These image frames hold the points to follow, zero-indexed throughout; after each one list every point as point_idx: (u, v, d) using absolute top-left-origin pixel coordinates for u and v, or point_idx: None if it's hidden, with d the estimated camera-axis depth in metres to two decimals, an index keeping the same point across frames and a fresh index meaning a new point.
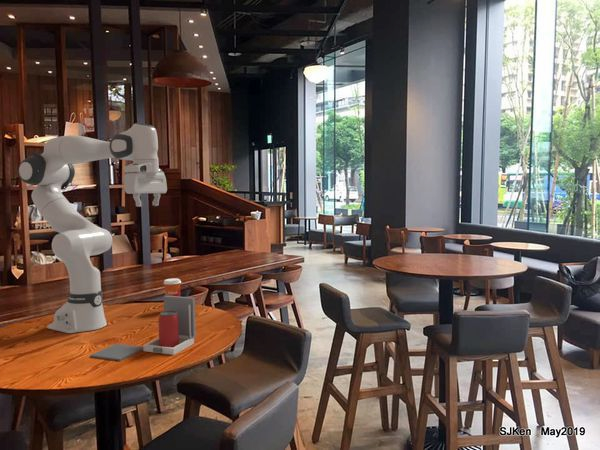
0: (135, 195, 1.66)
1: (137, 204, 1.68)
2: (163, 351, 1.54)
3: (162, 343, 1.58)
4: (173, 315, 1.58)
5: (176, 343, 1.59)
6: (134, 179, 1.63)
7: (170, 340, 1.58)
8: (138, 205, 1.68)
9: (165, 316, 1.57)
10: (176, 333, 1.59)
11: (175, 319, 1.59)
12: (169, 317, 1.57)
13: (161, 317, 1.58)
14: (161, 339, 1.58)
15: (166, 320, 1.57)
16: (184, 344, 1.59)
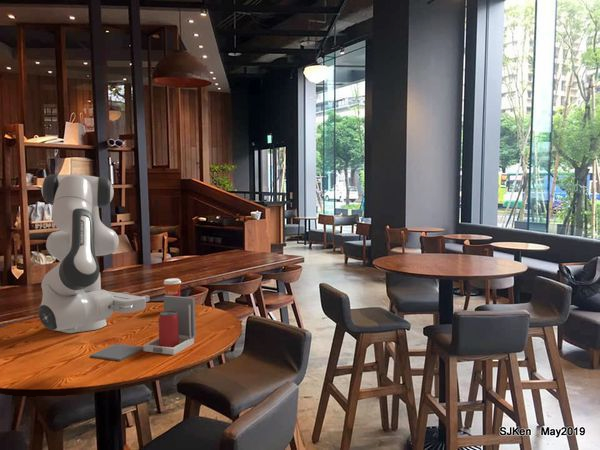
0: None
1: None
2: (163, 351, 1.54)
3: (162, 343, 1.58)
4: (173, 315, 1.58)
5: (176, 343, 1.59)
6: None
7: (170, 340, 1.58)
8: None
9: (165, 316, 1.57)
10: (176, 333, 1.59)
11: (175, 319, 1.59)
12: (169, 317, 1.57)
13: (161, 317, 1.58)
14: (161, 339, 1.58)
15: (166, 320, 1.57)
16: (184, 344, 1.59)
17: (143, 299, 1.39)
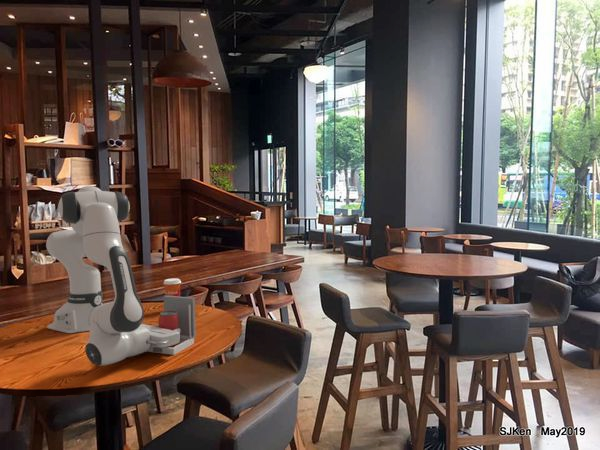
0: None
1: None
2: (163, 351, 1.54)
3: None
4: (173, 315, 1.58)
5: None
6: None
7: None
8: None
9: (165, 316, 1.57)
10: None
11: (175, 319, 1.59)
12: (169, 317, 1.57)
13: (161, 317, 1.58)
14: None
15: (166, 320, 1.57)
16: (184, 344, 1.59)
17: (177, 334, 1.51)
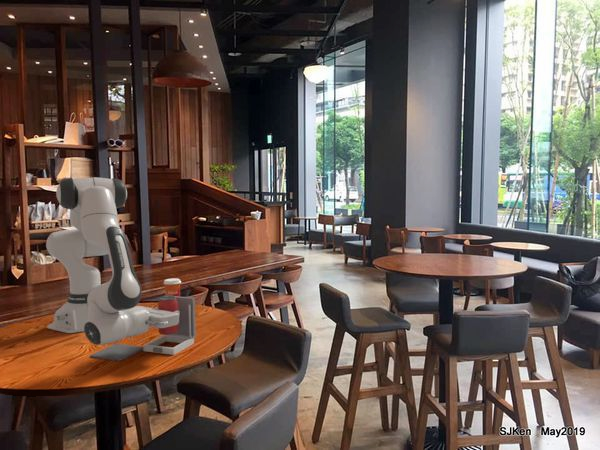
0: None
1: None
2: (163, 351, 1.54)
3: (161, 328, 1.57)
4: (173, 300, 1.58)
5: (176, 328, 1.59)
6: None
7: None
8: None
9: (165, 301, 1.57)
10: None
11: (175, 304, 1.58)
12: (169, 302, 1.57)
13: (160, 302, 1.57)
14: None
15: (166, 305, 1.57)
16: (184, 344, 1.59)
17: (177, 315, 1.50)
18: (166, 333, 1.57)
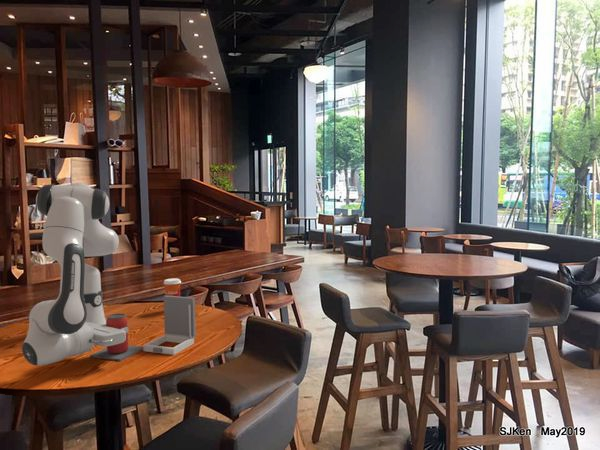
0: None
1: None
2: (163, 351, 1.54)
3: (110, 347, 1.52)
4: (121, 318, 1.53)
5: (125, 346, 1.54)
6: None
7: (118, 344, 1.52)
8: None
9: (113, 319, 1.52)
10: None
11: (123, 322, 1.54)
12: (117, 320, 1.52)
13: (109, 320, 1.52)
14: None
15: (114, 323, 1.52)
16: (184, 344, 1.59)
17: (123, 332, 1.45)
18: (115, 352, 1.52)
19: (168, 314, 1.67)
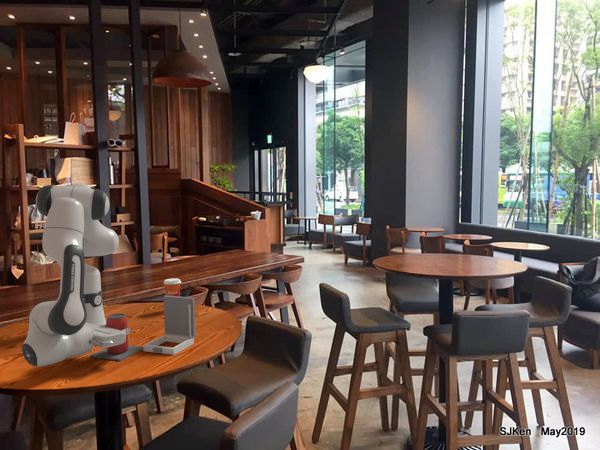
0: None
1: None
2: (163, 351, 1.54)
3: (110, 347, 1.52)
4: (121, 318, 1.53)
5: (125, 346, 1.54)
6: None
7: None
8: None
9: (113, 319, 1.52)
10: None
11: (123, 322, 1.54)
12: (117, 320, 1.52)
13: (109, 320, 1.52)
14: None
15: (114, 323, 1.52)
16: (184, 344, 1.59)
17: (123, 333, 1.45)
18: (115, 352, 1.52)
19: (168, 314, 1.67)
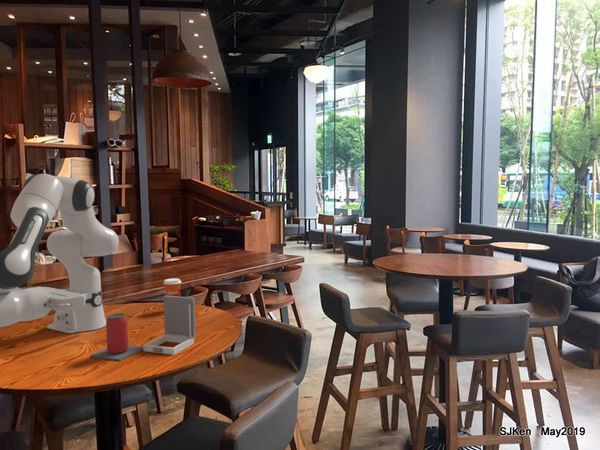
0: None
1: None
2: (163, 351, 1.54)
3: (110, 347, 1.52)
4: (121, 318, 1.53)
5: (125, 346, 1.54)
6: None
7: (118, 344, 1.52)
8: None
9: (113, 319, 1.52)
10: (125, 336, 1.54)
11: (123, 322, 1.54)
12: (117, 320, 1.52)
13: (109, 320, 1.52)
14: (109, 343, 1.52)
15: (114, 323, 1.52)
16: (184, 344, 1.59)
17: (82, 297, 1.34)
18: (115, 352, 1.52)
19: (168, 314, 1.67)
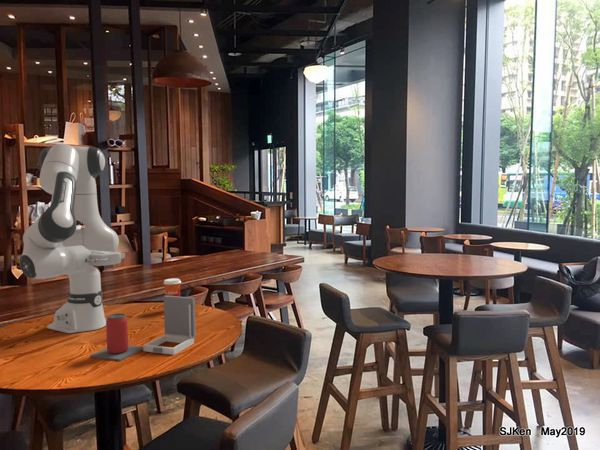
0: None
1: None
2: (163, 351, 1.54)
3: (110, 347, 1.52)
4: (121, 318, 1.53)
5: (125, 346, 1.54)
6: None
7: (118, 344, 1.52)
8: None
9: (113, 319, 1.52)
10: (125, 336, 1.54)
11: (123, 322, 1.54)
12: (117, 320, 1.52)
13: (109, 320, 1.52)
14: (109, 343, 1.52)
15: (114, 323, 1.52)
16: (184, 344, 1.59)
17: (118, 254, 1.50)
18: (115, 352, 1.52)
19: (168, 314, 1.67)
